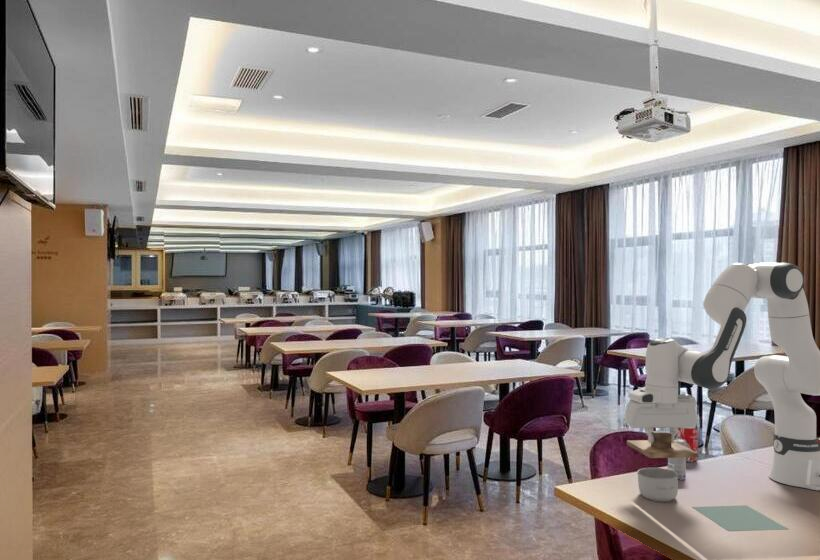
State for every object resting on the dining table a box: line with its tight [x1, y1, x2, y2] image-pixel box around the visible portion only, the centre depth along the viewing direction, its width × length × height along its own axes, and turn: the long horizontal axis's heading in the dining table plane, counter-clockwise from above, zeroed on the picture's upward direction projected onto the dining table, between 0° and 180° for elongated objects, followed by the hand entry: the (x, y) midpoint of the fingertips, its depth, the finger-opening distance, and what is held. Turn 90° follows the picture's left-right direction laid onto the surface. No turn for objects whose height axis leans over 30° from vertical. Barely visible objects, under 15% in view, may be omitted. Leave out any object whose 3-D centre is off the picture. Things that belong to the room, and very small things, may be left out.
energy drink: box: [667, 437, 687, 480], centre depth 192 cm, size 5×5×12 cm
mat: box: [691, 504, 789, 532], centre depth 156 cm, size 16×16×1 cm
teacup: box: [636, 467, 679, 503], centre depth 172 cm, size 14×11×8 cm
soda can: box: [675, 425, 699, 463], centre depth 211 cm, size 7×7×12 cm
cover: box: [626, 430, 699, 459], centre depth 172 cm, size 14×14×5 cm
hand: (661, 442), depth 172 cm, fingers closed on cover, 4 cm apart
